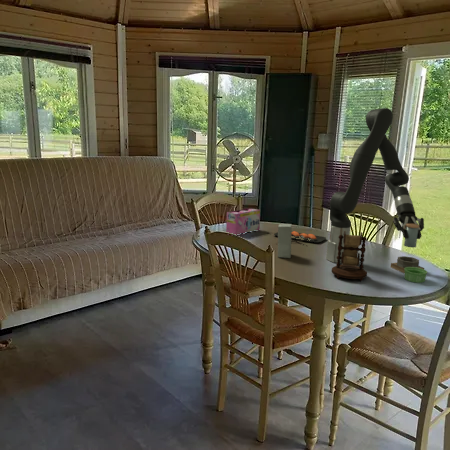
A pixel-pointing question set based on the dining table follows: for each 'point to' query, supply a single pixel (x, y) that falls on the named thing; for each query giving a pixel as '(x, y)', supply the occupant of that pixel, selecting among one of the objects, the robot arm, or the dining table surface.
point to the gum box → (243, 221)
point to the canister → (411, 235)
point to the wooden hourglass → (350, 257)
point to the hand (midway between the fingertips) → (413, 238)
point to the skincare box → (284, 240)
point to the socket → (405, 263)
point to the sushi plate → (305, 237)
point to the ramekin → (415, 274)
